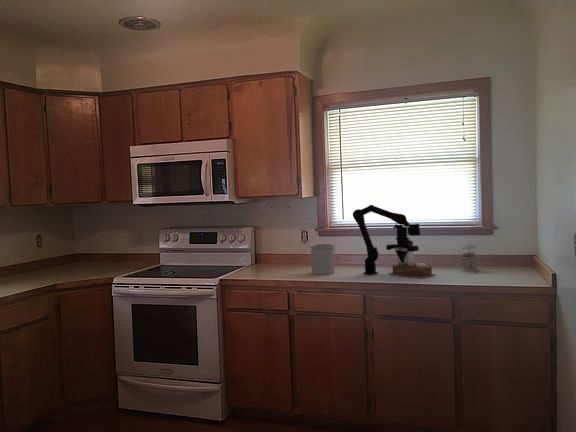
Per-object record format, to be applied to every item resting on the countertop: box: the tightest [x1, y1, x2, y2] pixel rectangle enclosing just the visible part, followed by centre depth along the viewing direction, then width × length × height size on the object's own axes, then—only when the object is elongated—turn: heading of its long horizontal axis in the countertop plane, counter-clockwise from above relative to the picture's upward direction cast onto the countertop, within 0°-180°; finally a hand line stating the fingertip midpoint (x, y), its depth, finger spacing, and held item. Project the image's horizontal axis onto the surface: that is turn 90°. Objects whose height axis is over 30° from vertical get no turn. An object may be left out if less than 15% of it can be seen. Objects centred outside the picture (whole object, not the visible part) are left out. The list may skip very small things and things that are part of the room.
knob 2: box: [416, 262, 427, 268], centre depth 274 cm, size 5×5×5 cm
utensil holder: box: [310, 242, 335, 276], centre depth 296 cm, size 15×15×18 cm
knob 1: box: [397, 261, 407, 266], centre depth 283 cm, size 5×5×5 cm
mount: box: [388, 264, 436, 279], centre depth 279 cm, size 12×23×5 cm, turn 43°
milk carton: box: [397, 237, 414, 263], centre depth 302 cm, size 7×7×19 cm
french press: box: [460, 227, 479, 273], centre depth 284 cm, size 10×12×25 cm
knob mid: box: [407, 261, 417, 267], centre depth 279 cm, size 5×5×5 cm
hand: (402, 262), depth 283 cm, fingers closed, pressing on knob 1
